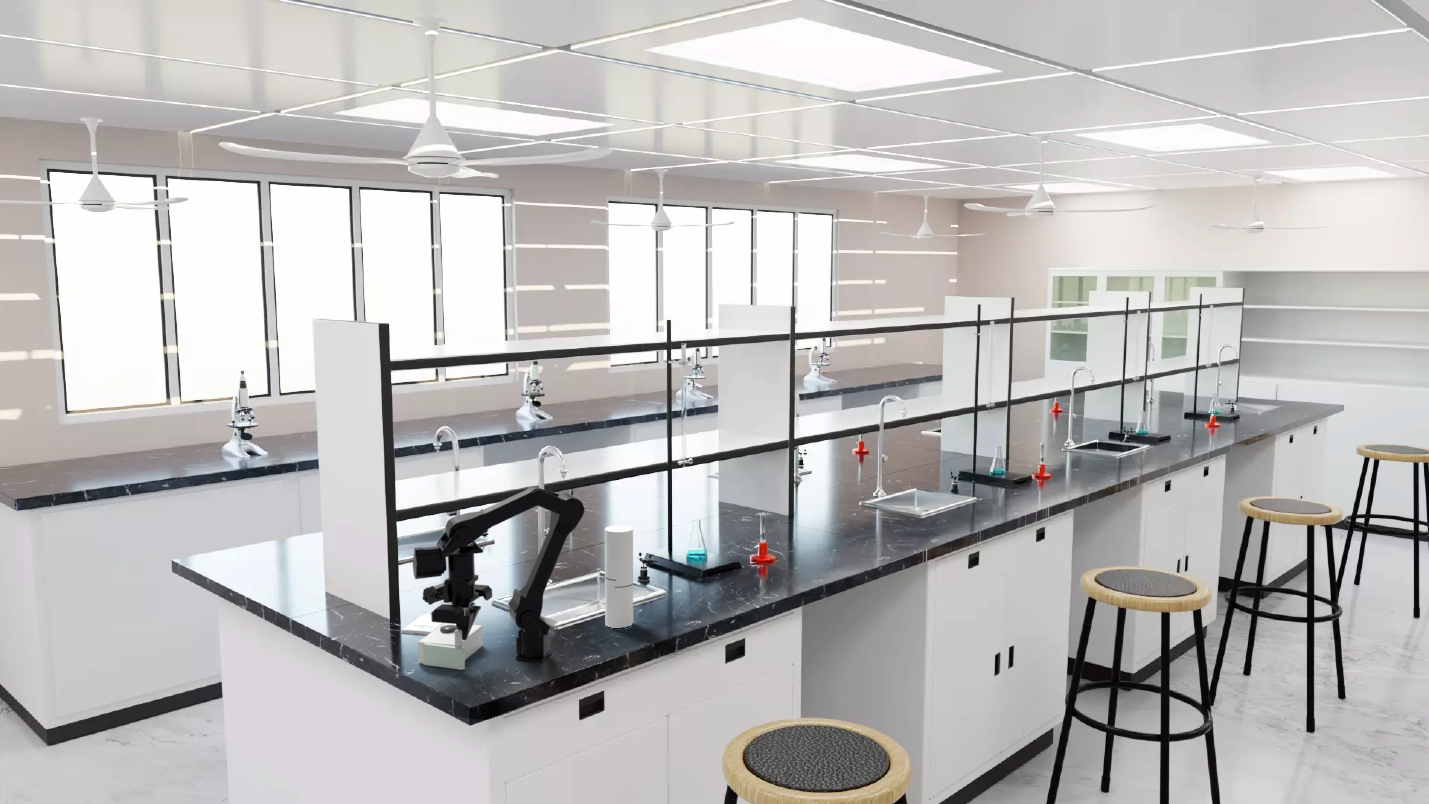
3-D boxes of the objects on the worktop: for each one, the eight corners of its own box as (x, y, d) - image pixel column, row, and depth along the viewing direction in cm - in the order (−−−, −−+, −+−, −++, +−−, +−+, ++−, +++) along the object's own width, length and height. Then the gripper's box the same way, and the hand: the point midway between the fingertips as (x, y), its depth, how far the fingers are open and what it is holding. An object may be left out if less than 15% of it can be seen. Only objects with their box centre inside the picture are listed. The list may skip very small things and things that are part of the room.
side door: (465, 667, 226) (464, 630, 225) (461, 670, 225) (461, 632, 224) (426, 662, 229) (425, 625, 228) (422, 665, 228) (421, 627, 227)
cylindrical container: (613, 618, 262) (612, 524, 259) (637, 621, 259) (637, 526, 256) (600, 626, 255) (599, 530, 252) (625, 630, 253) (625, 533, 250)
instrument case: (482, 645, 241) (482, 623, 241) (457, 666, 228) (456, 642, 227) (445, 642, 243) (445, 620, 242) (418, 663, 230) (418, 639, 229)
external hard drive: (453, 621, 260) (431, 637, 248) (424, 619, 262) (401, 635, 250) (453, 615, 260) (431, 631, 248) (423, 613, 262) (400, 629, 249)
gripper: (448, 559, 236) (450, 622, 238) (407, 583, 218) (410, 652, 220) (492, 562, 234) (494, 626, 236) (455, 587, 216) (457, 656, 218)
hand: (464, 639), depth 228 cm, fingers closed
